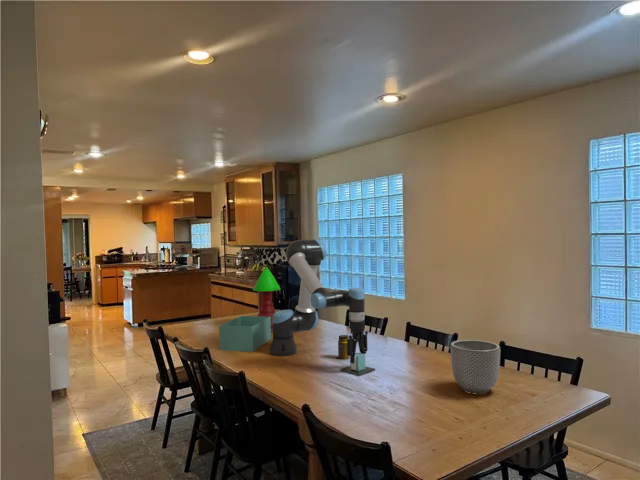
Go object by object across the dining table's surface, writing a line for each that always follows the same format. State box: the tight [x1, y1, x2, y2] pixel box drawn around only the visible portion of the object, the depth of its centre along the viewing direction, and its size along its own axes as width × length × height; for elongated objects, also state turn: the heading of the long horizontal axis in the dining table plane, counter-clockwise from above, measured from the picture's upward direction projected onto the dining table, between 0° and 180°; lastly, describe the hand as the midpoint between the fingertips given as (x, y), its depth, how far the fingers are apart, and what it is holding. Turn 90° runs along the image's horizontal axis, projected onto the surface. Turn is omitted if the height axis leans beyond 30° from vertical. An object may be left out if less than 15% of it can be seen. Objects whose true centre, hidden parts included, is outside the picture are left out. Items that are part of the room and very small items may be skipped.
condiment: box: [332, 334, 350, 362], centre depth 237 cm, size 7×8×12 cm
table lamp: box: [252, 266, 281, 333], centre depth 314 cm, size 20×20×45 cm
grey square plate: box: [339, 365, 376, 377], centre depth 215 cm, size 12×12×6 cm
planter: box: [449, 339, 501, 395], centre depth 185 cm, size 20×20×19 cm
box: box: [218, 315, 272, 353], centre depth 272 cm, size 21×32×14 cm, turn 167°
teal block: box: [349, 352, 366, 371], centre depth 215 cm, size 5×5×7 cm
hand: (357, 368), depth 215 cm, fingers closed on teal block, 5 cm apart
